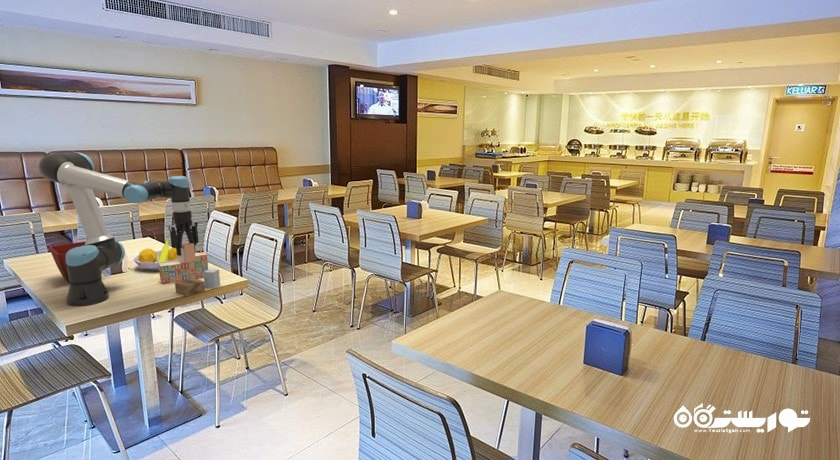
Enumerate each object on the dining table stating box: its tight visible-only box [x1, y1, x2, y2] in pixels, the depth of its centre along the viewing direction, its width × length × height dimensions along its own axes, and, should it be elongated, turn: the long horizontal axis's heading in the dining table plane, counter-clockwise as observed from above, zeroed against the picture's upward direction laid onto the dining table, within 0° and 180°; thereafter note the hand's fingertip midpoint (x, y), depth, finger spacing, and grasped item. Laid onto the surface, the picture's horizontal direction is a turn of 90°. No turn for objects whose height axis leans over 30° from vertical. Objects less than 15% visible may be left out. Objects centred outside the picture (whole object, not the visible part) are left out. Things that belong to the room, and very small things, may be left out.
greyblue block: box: [203, 268, 221, 289], centre depth 226 cm, size 5×5×8 cm
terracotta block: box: [178, 242, 196, 263], centre depth 215 cm, size 5×5×8 cm
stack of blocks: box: [158, 251, 209, 285], centre depth 236 cm, size 21×6×12 cm, turn 126°
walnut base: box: [174, 278, 206, 297], centre depth 219 cm, size 9×9×5 cm
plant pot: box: [49, 240, 103, 284], centre depth 233 cm, size 19×19×17 cm
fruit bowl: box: [132, 239, 179, 271], centre depth 257 cm, size 28×27×11 cm
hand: (187, 260), depth 216 cm, fingers closed on terracotta block, 5 cm apart
